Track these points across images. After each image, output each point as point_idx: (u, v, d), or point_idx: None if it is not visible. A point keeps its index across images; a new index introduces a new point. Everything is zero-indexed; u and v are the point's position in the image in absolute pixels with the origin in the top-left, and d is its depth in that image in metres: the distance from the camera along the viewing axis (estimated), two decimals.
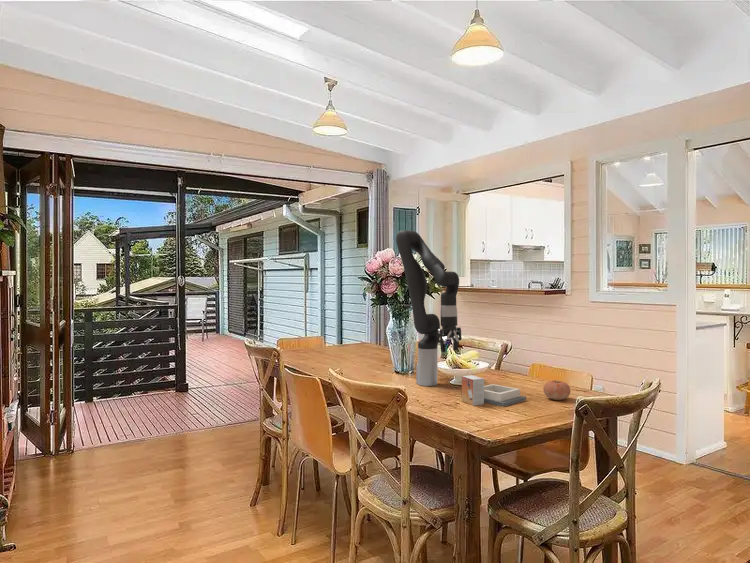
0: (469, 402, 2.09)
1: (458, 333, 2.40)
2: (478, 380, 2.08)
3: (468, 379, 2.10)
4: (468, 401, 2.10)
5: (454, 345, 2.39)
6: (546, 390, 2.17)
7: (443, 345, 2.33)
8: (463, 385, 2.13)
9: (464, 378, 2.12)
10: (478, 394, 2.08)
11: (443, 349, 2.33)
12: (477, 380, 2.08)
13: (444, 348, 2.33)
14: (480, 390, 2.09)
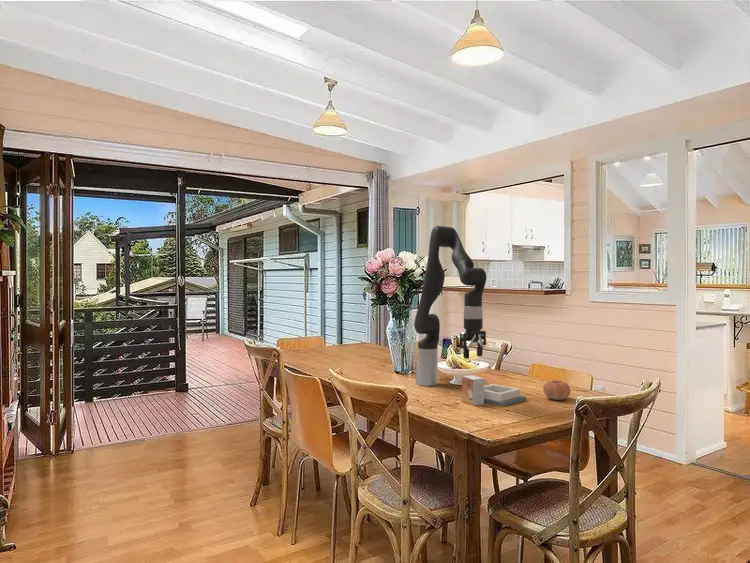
0: (469, 402, 2.09)
1: (483, 337, 2.15)
2: (478, 380, 2.08)
3: (468, 379, 2.10)
4: (468, 401, 2.10)
5: (478, 350, 2.14)
6: (546, 390, 2.17)
7: (466, 351, 2.08)
8: (463, 385, 2.13)
9: (464, 378, 2.12)
10: (478, 394, 2.08)
11: (466, 355, 2.08)
12: (477, 380, 2.08)
13: (467, 354, 2.08)
14: (480, 390, 2.09)
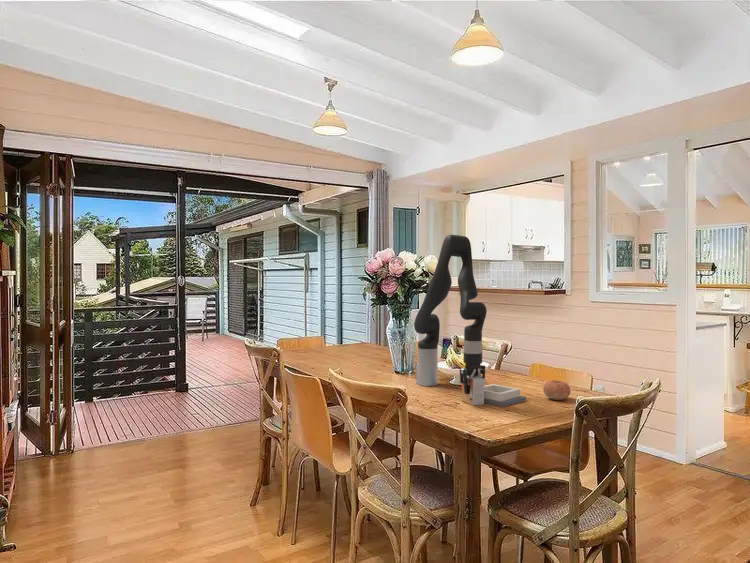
0: (469, 402, 2.09)
1: (482, 372, 2.15)
2: (478, 380, 2.08)
3: None
4: (468, 401, 2.10)
5: None
6: (546, 390, 2.17)
7: (467, 386, 2.08)
8: (463, 385, 2.13)
9: None
10: (478, 394, 2.08)
11: (467, 391, 2.08)
12: (477, 380, 2.08)
13: (468, 390, 2.09)
14: (480, 389, 2.09)
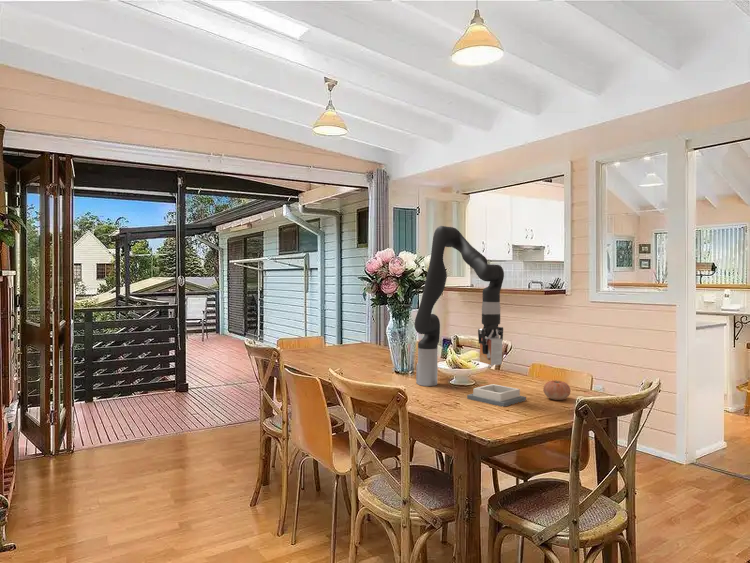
0: (487, 362, 2.13)
1: (500, 333, 2.18)
2: (496, 340, 2.12)
3: None
4: (486, 361, 2.14)
5: None
6: (546, 390, 2.17)
7: (485, 346, 2.12)
8: (481, 346, 2.17)
9: None
10: (496, 354, 2.12)
11: (485, 351, 2.12)
12: (495, 340, 2.12)
13: (486, 350, 2.12)
14: (498, 350, 2.12)
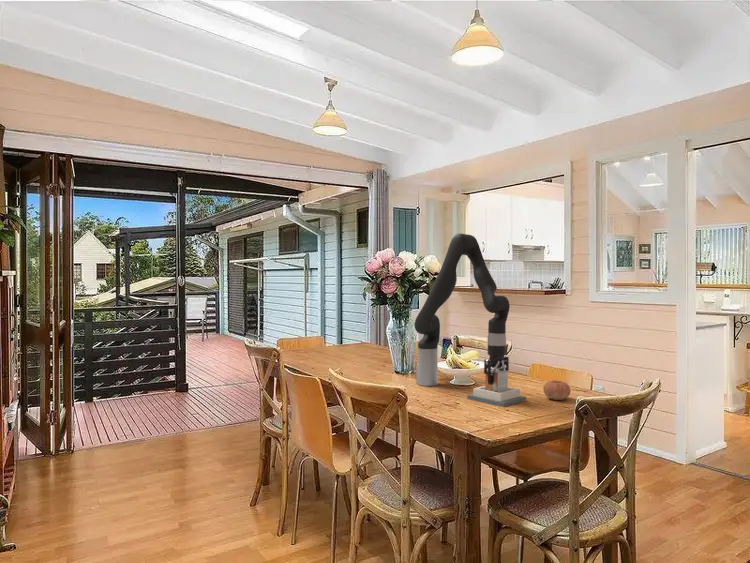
0: None
1: (505, 363, 2.21)
2: (502, 373, 2.14)
3: None
4: None
5: None
6: (546, 390, 2.17)
7: (491, 377, 2.14)
8: (487, 378, 2.18)
9: None
10: (502, 387, 2.14)
11: (491, 381, 2.14)
12: (501, 373, 2.14)
13: (492, 380, 2.14)
14: (504, 383, 2.14)
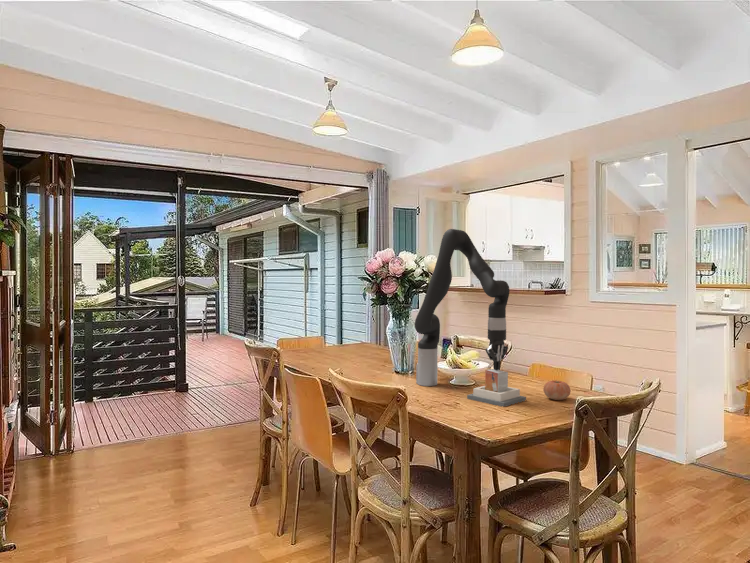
0: None
1: (503, 351, 2.19)
2: (502, 373, 2.14)
3: (492, 373, 2.15)
4: None
5: None
6: (546, 390, 2.17)
7: (496, 363, 2.16)
8: (487, 379, 2.18)
9: (488, 372, 2.18)
10: (502, 387, 2.14)
11: (496, 367, 2.16)
12: (501, 373, 2.14)
13: (497, 366, 2.16)
14: (504, 383, 2.14)
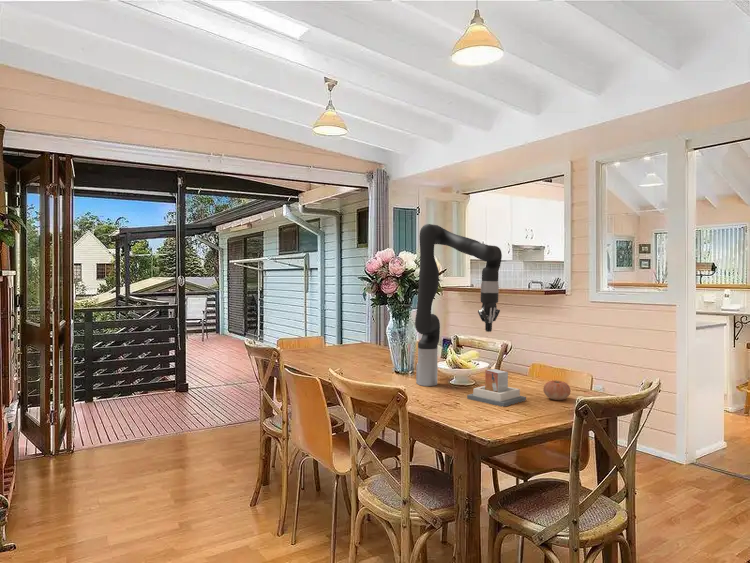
0: None
1: (495, 314, 2.28)
2: (502, 373, 2.14)
3: (492, 373, 2.15)
4: None
5: None
6: (546, 390, 2.17)
7: (488, 324, 2.25)
8: (487, 379, 2.18)
9: (488, 372, 2.18)
10: (502, 387, 2.14)
11: (488, 328, 2.25)
12: (501, 373, 2.14)
13: (489, 327, 2.25)
14: (504, 383, 2.14)
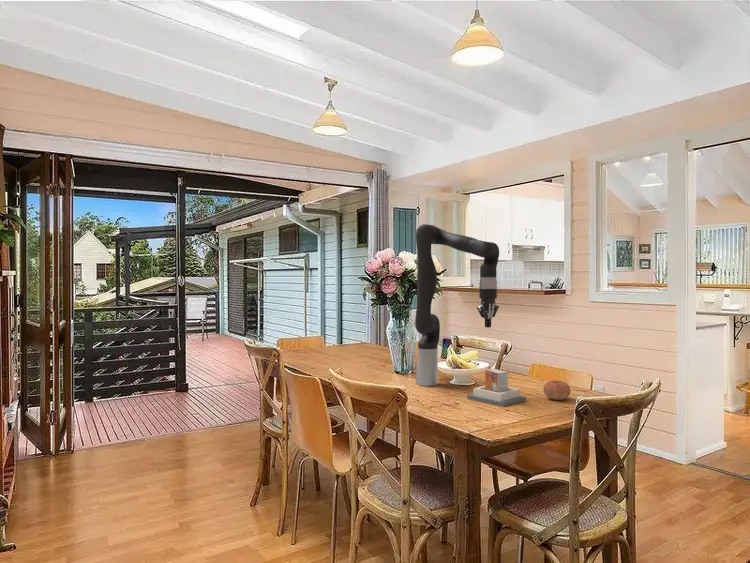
0: None
1: (494, 310, 2.30)
2: (502, 373, 2.14)
3: (492, 373, 2.15)
4: None
5: None
6: (546, 390, 2.17)
7: (487, 320, 2.27)
8: (487, 379, 2.18)
9: (488, 372, 2.18)
10: (502, 387, 2.14)
11: (487, 324, 2.27)
12: (501, 373, 2.14)
13: (488, 323, 2.27)
14: (504, 383, 2.14)
